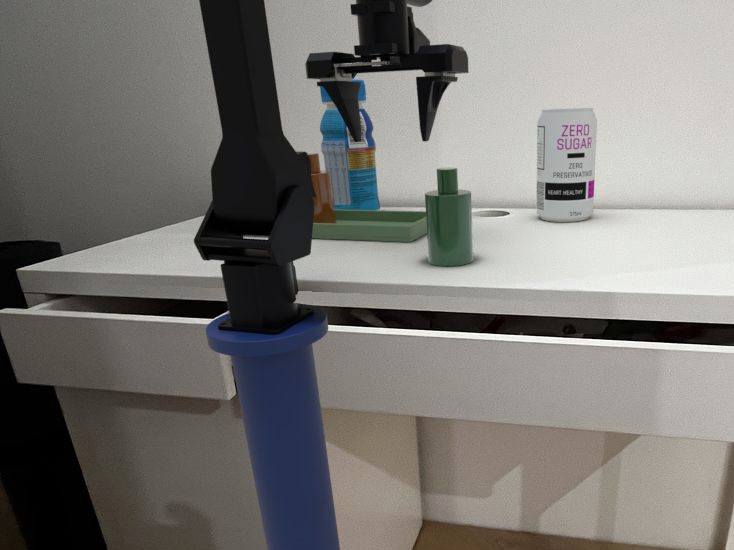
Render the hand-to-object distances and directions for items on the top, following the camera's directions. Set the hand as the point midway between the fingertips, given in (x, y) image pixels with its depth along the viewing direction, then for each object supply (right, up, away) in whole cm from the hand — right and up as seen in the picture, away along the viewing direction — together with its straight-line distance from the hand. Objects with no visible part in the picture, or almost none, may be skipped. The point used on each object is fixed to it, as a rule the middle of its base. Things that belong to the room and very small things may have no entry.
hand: (391, 141), depth 76 cm
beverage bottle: (-9, -3, +26) cm, 27 cm away
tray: (-11, -8, +13) cm, 19 cm away
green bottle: (+7, -15, -6) cm, 18 cm away
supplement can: (+24, -6, +16) cm, 29 cm away
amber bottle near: (-12, -8, +14) cm, 20 cm away
